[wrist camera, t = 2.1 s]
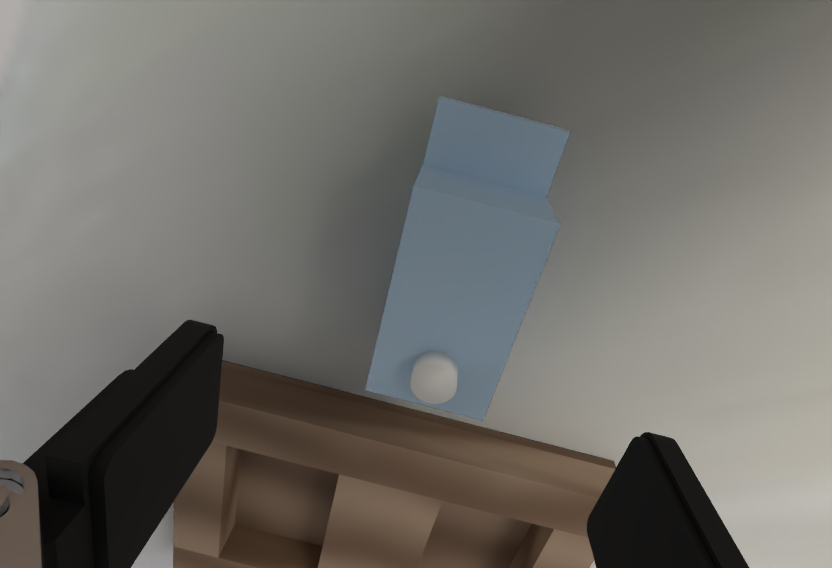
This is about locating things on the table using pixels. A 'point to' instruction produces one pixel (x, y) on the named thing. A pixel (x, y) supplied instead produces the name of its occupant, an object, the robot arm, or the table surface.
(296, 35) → the table surface
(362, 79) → the table surface
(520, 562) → the tray
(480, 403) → the light blue drawer box
